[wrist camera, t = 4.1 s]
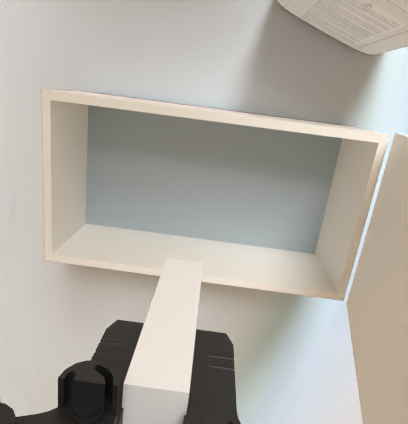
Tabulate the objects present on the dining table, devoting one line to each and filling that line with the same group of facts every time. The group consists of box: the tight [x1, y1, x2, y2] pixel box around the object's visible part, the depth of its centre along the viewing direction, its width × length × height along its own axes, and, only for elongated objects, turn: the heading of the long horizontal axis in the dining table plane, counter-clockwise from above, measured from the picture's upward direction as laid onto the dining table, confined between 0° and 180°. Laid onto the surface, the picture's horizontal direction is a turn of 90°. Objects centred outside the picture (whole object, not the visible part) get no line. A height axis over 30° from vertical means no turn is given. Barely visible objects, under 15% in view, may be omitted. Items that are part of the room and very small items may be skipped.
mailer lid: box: [347, 133, 408, 424], centre depth 15 cm, size 13×25×2 cm
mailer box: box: [42, 90, 390, 301], centre depth 30 cm, size 13×24×8 cm, turn 83°
